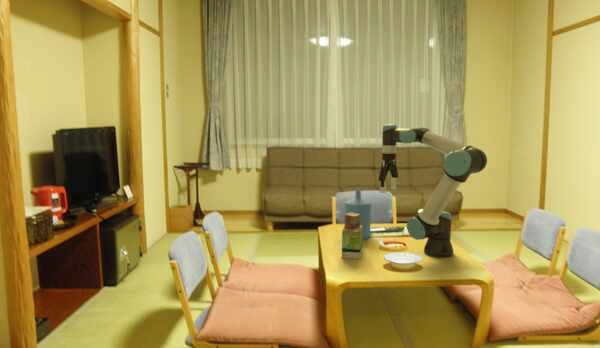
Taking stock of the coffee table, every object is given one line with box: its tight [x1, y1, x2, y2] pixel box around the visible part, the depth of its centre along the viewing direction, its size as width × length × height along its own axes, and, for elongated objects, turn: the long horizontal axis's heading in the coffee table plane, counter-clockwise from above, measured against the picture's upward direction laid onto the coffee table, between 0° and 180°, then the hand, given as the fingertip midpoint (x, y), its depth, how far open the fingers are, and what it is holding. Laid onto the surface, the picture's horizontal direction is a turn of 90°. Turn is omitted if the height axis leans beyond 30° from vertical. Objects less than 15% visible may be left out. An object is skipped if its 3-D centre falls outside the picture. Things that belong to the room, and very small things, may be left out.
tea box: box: [341, 225, 363, 260], centre depth 259 cm, size 15×10×15 cm
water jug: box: [344, 189, 372, 240], centre depth 293 cm, size 16×16×28 cm
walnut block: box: [344, 213, 360, 229], centre depth 257 cm, size 6×6×7 cm
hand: (388, 191), depth 269 cm, fingers open, 13 cm apart
